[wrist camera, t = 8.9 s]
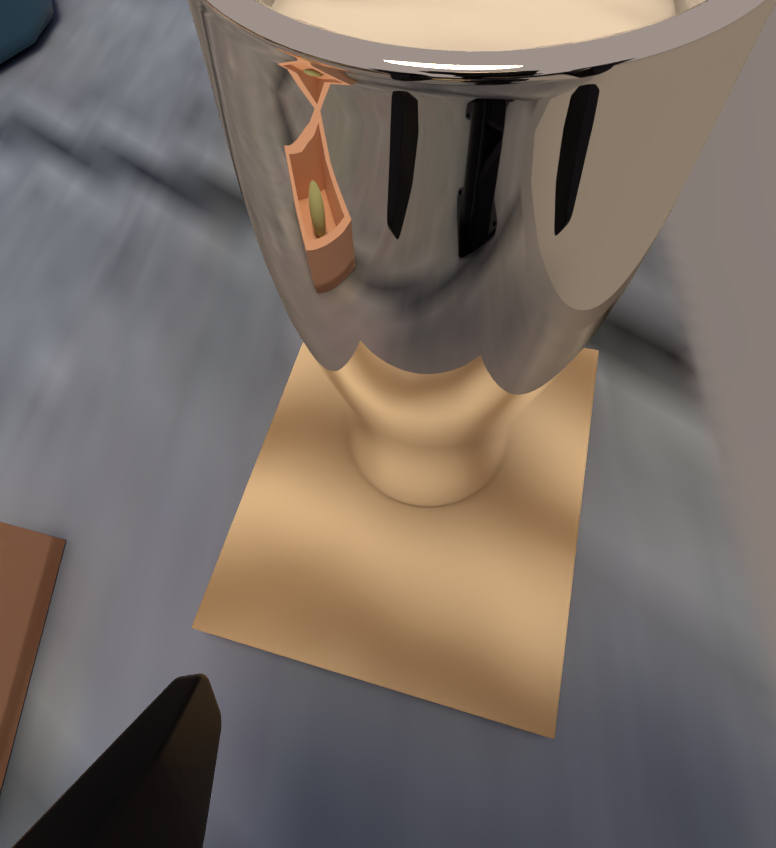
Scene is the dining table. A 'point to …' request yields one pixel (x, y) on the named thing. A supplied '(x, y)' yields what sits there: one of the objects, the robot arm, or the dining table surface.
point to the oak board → (412, 558)
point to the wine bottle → (22, 24)
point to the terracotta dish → (21, 618)
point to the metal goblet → (460, 192)
